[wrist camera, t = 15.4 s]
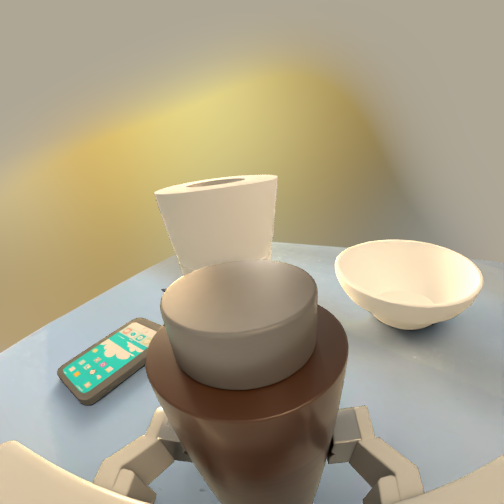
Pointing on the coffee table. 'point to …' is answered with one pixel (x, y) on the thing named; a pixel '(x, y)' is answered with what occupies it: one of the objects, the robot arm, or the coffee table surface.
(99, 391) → the smartphone
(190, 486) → the coffee table surface
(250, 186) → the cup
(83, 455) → the coffee table surface
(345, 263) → the bowl
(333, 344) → the pepper mill
